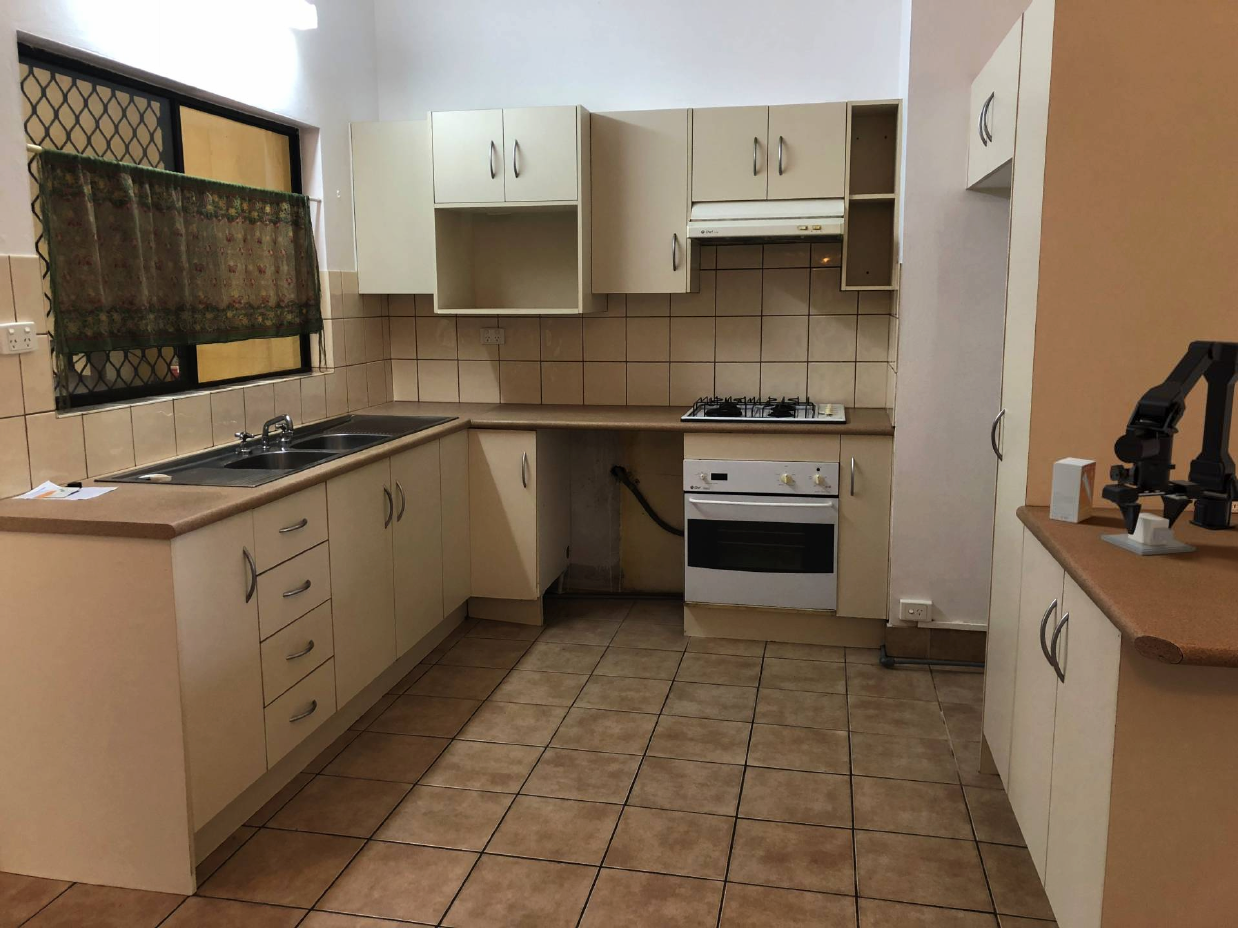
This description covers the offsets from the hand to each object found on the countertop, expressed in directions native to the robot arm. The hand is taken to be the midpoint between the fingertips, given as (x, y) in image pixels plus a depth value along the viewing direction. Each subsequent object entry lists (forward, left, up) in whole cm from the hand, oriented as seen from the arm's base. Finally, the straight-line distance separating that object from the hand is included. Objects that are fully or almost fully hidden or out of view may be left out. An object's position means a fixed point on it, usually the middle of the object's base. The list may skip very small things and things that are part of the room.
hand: (1148, 533), depth 200 cm
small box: (+1, -23, -3) cm, 23 cm away
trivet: (0, 0, -2) cm, 2 cm away
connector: (0, +1, -2) cm, 2 cm away
